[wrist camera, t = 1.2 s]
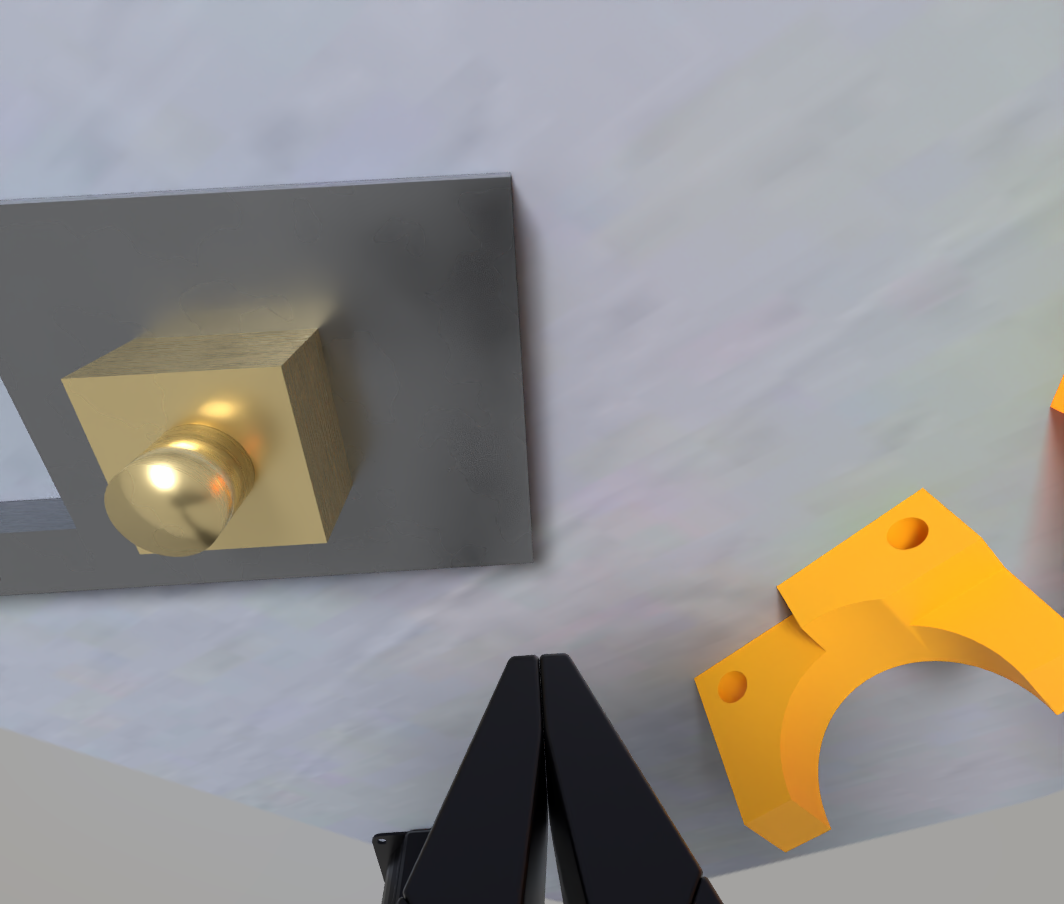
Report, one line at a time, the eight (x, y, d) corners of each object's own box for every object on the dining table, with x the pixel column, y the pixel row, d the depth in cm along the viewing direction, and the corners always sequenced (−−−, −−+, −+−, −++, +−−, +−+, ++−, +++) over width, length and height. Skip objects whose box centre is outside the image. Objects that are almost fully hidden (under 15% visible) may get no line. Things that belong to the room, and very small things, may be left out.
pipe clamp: (920, 485, 22) (1064, 608, 16) (971, 550, 24) (1120, 683, 18) (668, 656, 26) (714, 804, 20) (727, 702, 27) (785, 852, 22)
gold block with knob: (352, 484, 19) (304, 593, 14) (192, 494, 18) (93, 606, 14) (317, 328, 16) (246, 400, 12) (134, 339, 16) (-7, 415, 12)
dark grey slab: (531, 528, 22) (533, 566, 20) (-121, 568, 22) (-183, 610, 20) (510, 172, 16) (510, 176, 14) (-372, 220, 16) (-492, 231, 14)
